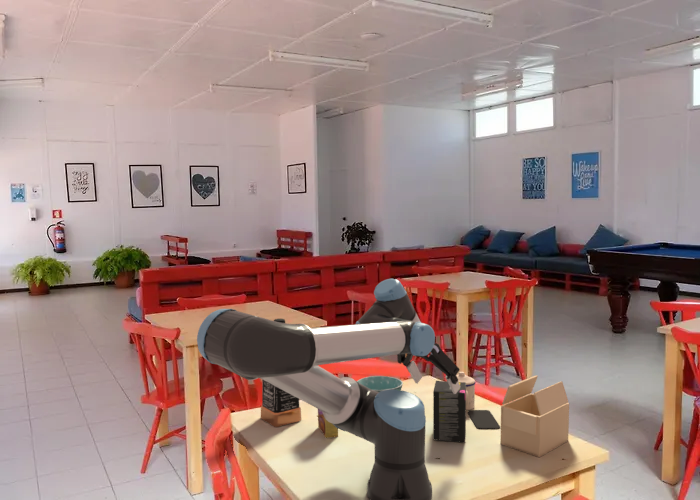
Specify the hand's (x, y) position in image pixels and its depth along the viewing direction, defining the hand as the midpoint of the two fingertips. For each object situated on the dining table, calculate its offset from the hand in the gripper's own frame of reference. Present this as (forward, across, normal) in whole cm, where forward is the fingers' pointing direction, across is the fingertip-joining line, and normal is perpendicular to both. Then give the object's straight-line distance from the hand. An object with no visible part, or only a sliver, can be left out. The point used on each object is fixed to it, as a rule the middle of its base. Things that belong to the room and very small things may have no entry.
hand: (437, 385), depth 165 cm
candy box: (+4, +28, +24) cm, 37 cm away
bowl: (+19, +32, +1) cm, 38 cm away
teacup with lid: (+30, +12, -14) cm, 35 cm away
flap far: (+16, -13, -14) cm, 25 cm away
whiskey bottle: (+2, +46, +27) cm, 53 cm away
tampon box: (+18, +1, +4) cm, 19 cm away
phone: (+28, +1, -10) cm, 30 cm away
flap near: (+16, -25, -13) cm, 33 cm away
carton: (+26, -19, -7) cm, 32 cm away
